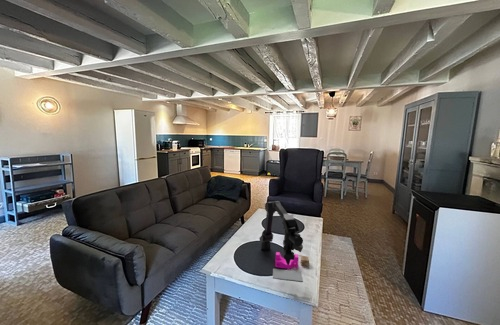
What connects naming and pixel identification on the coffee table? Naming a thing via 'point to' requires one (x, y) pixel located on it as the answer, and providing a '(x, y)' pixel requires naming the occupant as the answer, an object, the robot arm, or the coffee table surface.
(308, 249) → the coffee table surface
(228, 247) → the coffee table surface
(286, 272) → the pad
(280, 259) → the toy block
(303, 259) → the walnut block
